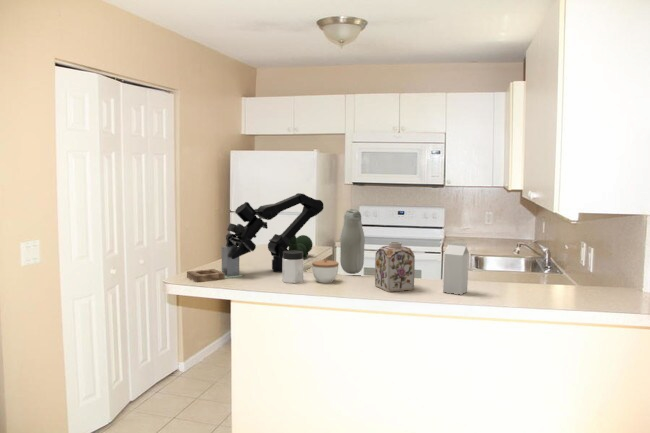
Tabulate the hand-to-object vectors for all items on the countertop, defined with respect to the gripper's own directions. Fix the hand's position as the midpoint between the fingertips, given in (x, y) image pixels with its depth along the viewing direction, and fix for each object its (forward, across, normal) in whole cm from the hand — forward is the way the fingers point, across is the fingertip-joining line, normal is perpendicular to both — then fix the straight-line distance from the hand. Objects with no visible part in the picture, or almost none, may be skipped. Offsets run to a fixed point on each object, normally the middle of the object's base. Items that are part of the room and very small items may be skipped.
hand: (227, 256), depth 243 cm
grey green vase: (-29, +21, +41) cm, 54 cm away
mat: (+5, 0, +7) cm, 8 cm away
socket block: (+12, 0, -1) cm, 13 cm away
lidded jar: (-15, +29, +27) cm, 42 cm away
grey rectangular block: (+4, 0, +6) cm, 8 cm away
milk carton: (-38, +70, +50) cm, 94 cm away
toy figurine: (-29, -23, +41) cm, 55 cm away
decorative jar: (-27, +53, +39) cm, 71 cm away
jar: (-7, +22, +19) cm, 30 cm away
